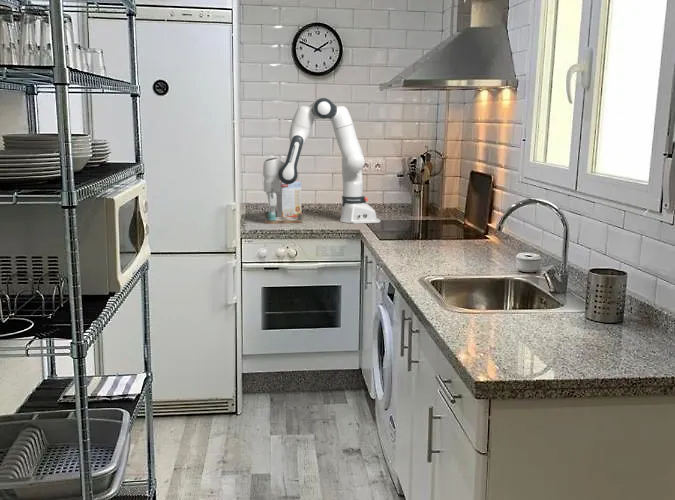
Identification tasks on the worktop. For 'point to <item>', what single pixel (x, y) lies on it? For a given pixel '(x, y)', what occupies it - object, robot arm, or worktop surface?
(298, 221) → the track
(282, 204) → the cracker box
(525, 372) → the worktop surface
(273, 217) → the teal slider block
